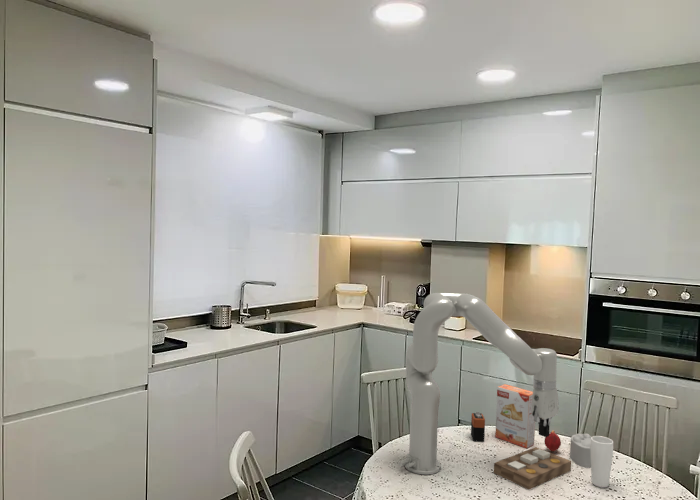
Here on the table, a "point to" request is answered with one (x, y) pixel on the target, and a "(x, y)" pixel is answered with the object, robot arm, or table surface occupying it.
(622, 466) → the table surface
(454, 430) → the table surface
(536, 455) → the button right
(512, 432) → the cracker box
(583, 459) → the lumpy-topped squat cylinder
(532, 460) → the button middle
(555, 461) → the button board
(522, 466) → the button left
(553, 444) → the onion
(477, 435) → the battery
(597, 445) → the drinking glass
